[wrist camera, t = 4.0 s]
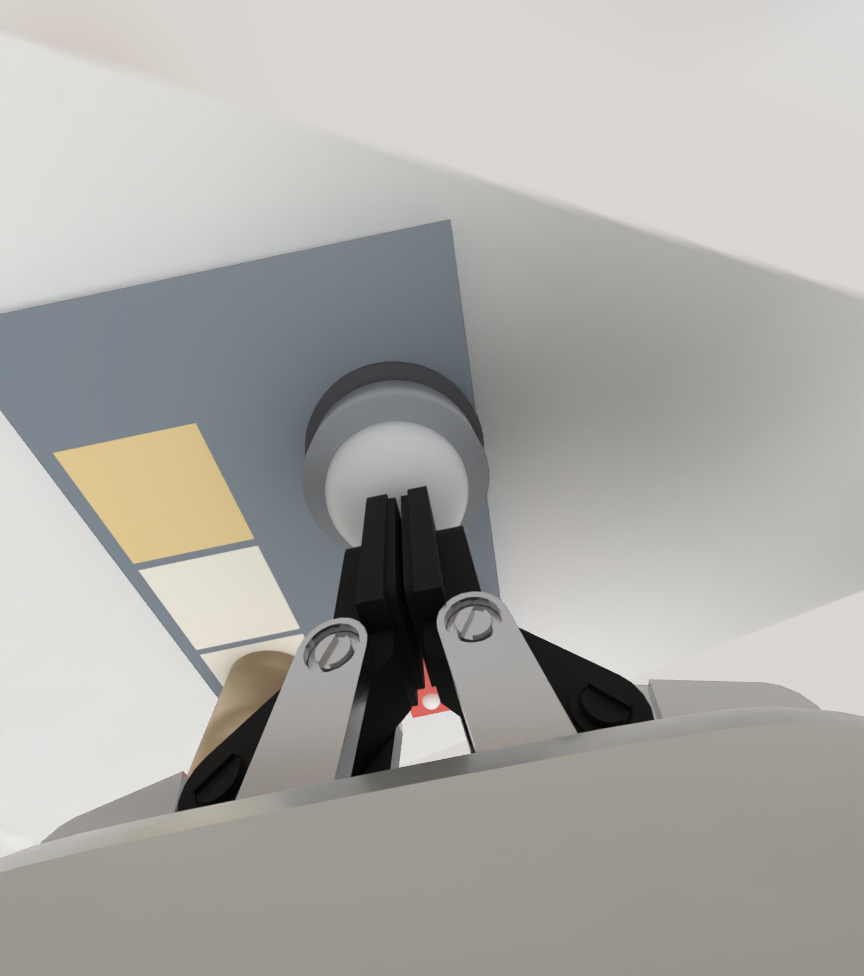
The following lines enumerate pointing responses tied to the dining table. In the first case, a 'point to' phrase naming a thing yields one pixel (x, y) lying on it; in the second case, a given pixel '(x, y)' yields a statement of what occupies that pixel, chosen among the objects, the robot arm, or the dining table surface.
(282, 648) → the board
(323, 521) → the dome
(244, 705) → the pawn
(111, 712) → the dining table surface
